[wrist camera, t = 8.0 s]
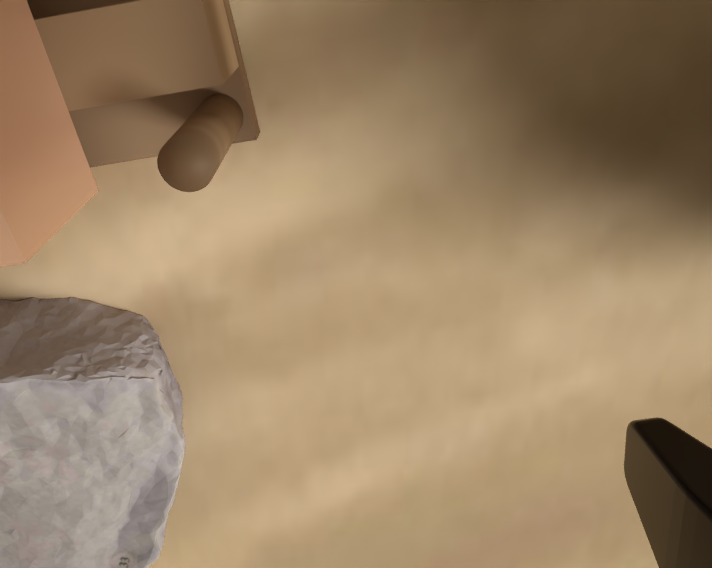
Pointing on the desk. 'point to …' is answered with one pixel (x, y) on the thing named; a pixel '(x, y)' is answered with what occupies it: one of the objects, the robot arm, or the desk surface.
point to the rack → (151, 81)
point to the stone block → (85, 436)
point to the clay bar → (34, 143)
